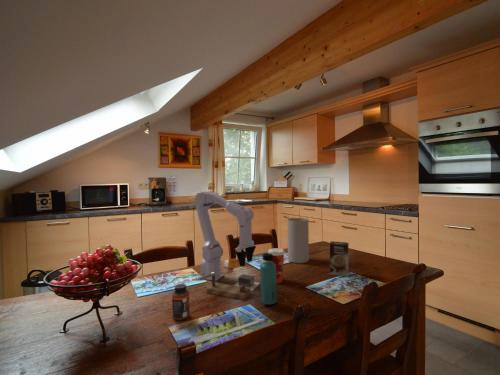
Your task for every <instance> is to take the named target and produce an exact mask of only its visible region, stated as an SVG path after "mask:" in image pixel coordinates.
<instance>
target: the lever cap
mask: <svg viewBox="0 0 500 375" xmlns="http://www.w3.org/2000/svg"><path fill="white" fill-rule="evenodd" d="M237 281H238V282H237V283H239V286H241V285H245V287H249V288H250V287H252V286H253V285H254V282H255V275H250V274H241V275H240V276H238V279H237Z"/></svg>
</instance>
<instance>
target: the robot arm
mask: <svg viewBox="0 0 500 375" xmlns="http://www.w3.org/2000/svg"><path fill="white" fill-rule="evenodd" d="M194 201H195V206H196V213H197V217H198V222H199V225H200V230H201V233H202V236H203V241H204V244H203V245H202V247H201V250H202V254H201V255H202V261H201V264H200V275H201V276H204V275H206V274H209V273H211V272H213V271H215V272H216V275H215V282H217V281H218V280H221V278H223V277H224V274H221V259H222V256H223V255H224V249H223V247H222V246H221V244H220V241H218V240H217V239H216V236H215V233H214V229H213V225H212V221H211V218H210V215H209V209H210V208H211V206H212V205H213V204H214V203H215V204H217V205H218V206H221V207H223V208H225V209H226V212H227V213H229V214H230V215H232V216H234V217H235V218H236V219H237V221H238V226H239V228H238V231H239V235H238V236H239V240H238V242H239V244H238V246H237V247H236V249H235V250H234V254H235V255H236V256H237V259H238V264H239V266H240V267H242V268H243V267H245V266H246V261H247V262H252V261H253V257H254V253H255V251H256V248H257V245H255V241H254V240H252V239H253V237H252V235H253V234H252V232H253V231H252V220H253V218H254V216H255V215H254V214H255V213H254V211H253V210H252V208H250V207H245V205H241V204H239V203H238V202H237V200H234V201H233V200H231V201H229V200H227V199H226V198H224V197H223V196H222V195H219V194H218V193H217V192H215V191H214V190H209V191H198V192H197V193H196V194H195V196H194ZM201 276H200V277H201ZM204 280H209V281H212V276H211V277H208V278H205V279H204Z"/></svg>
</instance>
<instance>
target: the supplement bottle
mask: <svg viewBox="0 0 500 375" xmlns="http://www.w3.org/2000/svg"><path fill="white" fill-rule="evenodd" d="M171 299H172V301H171V302H172V303H171V304H172V318H173V320H176V321H183V320H186V319H188V318H189V317H190V313H191V311H190V291H189V290H188V289H187V284H184V283H179V284H176V285H175V286H174V291H173V292H172V295H171Z"/></svg>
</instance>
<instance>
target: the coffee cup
mask: <svg viewBox="0 0 500 375" xmlns="http://www.w3.org/2000/svg"><path fill="white" fill-rule="evenodd" d="M267 253H270V254H273V260H272V261H271V262H273V263H274V264H275V265H276V274H277V275H276V284H280V283H283V280H284V279H283V278H284V262H285V260H284V259H285V251H284V249H282V248H275V247H274V248H270V249H268V252H267Z"/></svg>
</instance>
